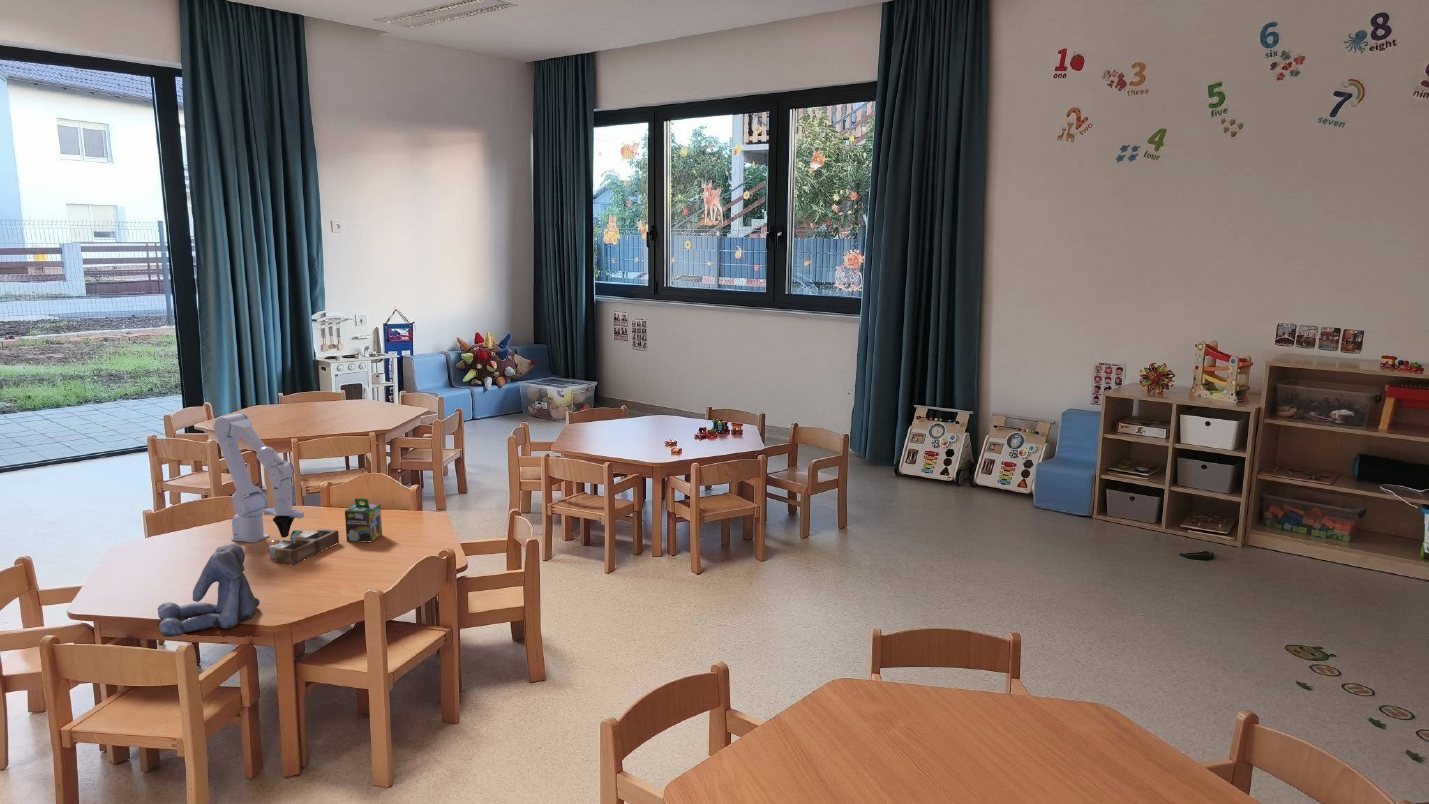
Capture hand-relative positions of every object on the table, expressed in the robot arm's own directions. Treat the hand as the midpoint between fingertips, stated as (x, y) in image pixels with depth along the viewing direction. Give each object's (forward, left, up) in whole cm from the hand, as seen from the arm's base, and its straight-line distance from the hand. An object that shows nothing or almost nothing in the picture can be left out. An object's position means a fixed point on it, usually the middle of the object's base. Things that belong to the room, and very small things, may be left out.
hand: (284, 536), depth 316 cm
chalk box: (+22, +13, -3) cm, 26 cm away
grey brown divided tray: (+14, -6, -3) cm, 15 cm away
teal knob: (+7, 0, -2) cm, 8 cm away
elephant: (+23, -60, -3) cm, 65 cm away
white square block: (+7, -11, -2) cm, 14 cm away
